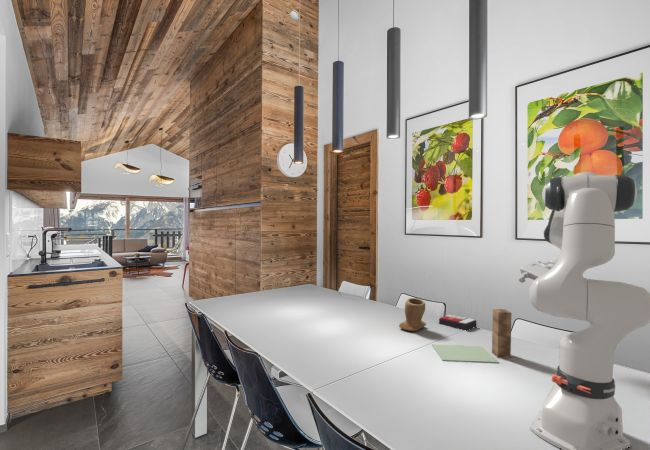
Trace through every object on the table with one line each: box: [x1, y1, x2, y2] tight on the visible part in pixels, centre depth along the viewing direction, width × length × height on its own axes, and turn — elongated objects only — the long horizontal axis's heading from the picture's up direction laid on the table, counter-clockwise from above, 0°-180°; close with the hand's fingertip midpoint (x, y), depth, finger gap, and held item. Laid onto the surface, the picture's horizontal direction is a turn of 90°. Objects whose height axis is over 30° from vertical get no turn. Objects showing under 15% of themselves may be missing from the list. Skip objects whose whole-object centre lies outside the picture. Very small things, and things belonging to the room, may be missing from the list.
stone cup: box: [398, 297, 427, 332], centre depth 165 cm, size 15×12×15 cm
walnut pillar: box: [491, 308, 512, 359], centre depth 133 cm, size 5×5×18 cm
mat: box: [431, 343, 500, 364], centre depth 134 cm, size 21×16×1 cm
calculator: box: [438, 314, 477, 332], centre depth 172 cm, size 11×4×15 cm
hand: (529, 285), depth 131 cm, fingers open, 8 cm apart
